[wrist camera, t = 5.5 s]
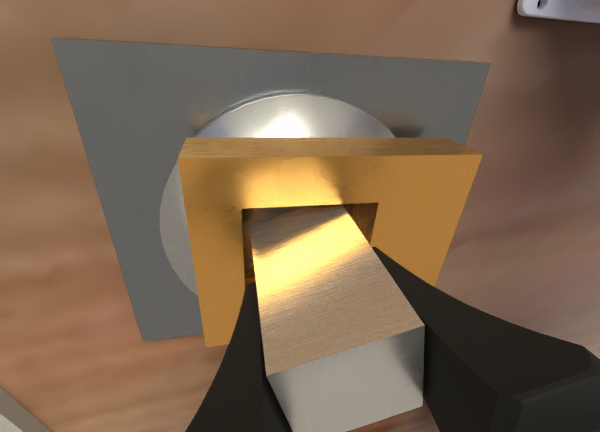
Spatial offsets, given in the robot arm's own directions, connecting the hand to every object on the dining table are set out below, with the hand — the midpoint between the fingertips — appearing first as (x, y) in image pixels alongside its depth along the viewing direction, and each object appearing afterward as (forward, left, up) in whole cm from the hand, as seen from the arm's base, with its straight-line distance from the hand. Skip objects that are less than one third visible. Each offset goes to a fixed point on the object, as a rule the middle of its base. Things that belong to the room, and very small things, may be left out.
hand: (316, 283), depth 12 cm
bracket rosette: (0, 0, -6) cm, 6 cm away
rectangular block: (0, 0, -2) cm, 3 cm away
